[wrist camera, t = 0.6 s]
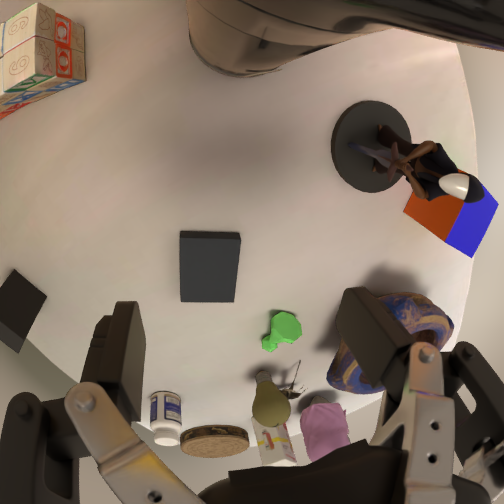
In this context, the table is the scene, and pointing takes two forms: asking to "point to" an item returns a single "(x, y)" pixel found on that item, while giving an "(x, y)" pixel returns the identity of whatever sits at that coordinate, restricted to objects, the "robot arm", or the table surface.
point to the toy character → (323, 428)
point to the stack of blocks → (38, 56)
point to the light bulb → (269, 402)
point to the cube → (454, 219)
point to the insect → (291, 391)
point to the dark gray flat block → (208, 266)
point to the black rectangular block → (18, 309)
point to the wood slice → (214, 441)
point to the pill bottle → (165, 418)
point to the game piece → (282, 331)
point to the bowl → (413, 319)
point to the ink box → (274, 445)
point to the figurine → (394, 156)
